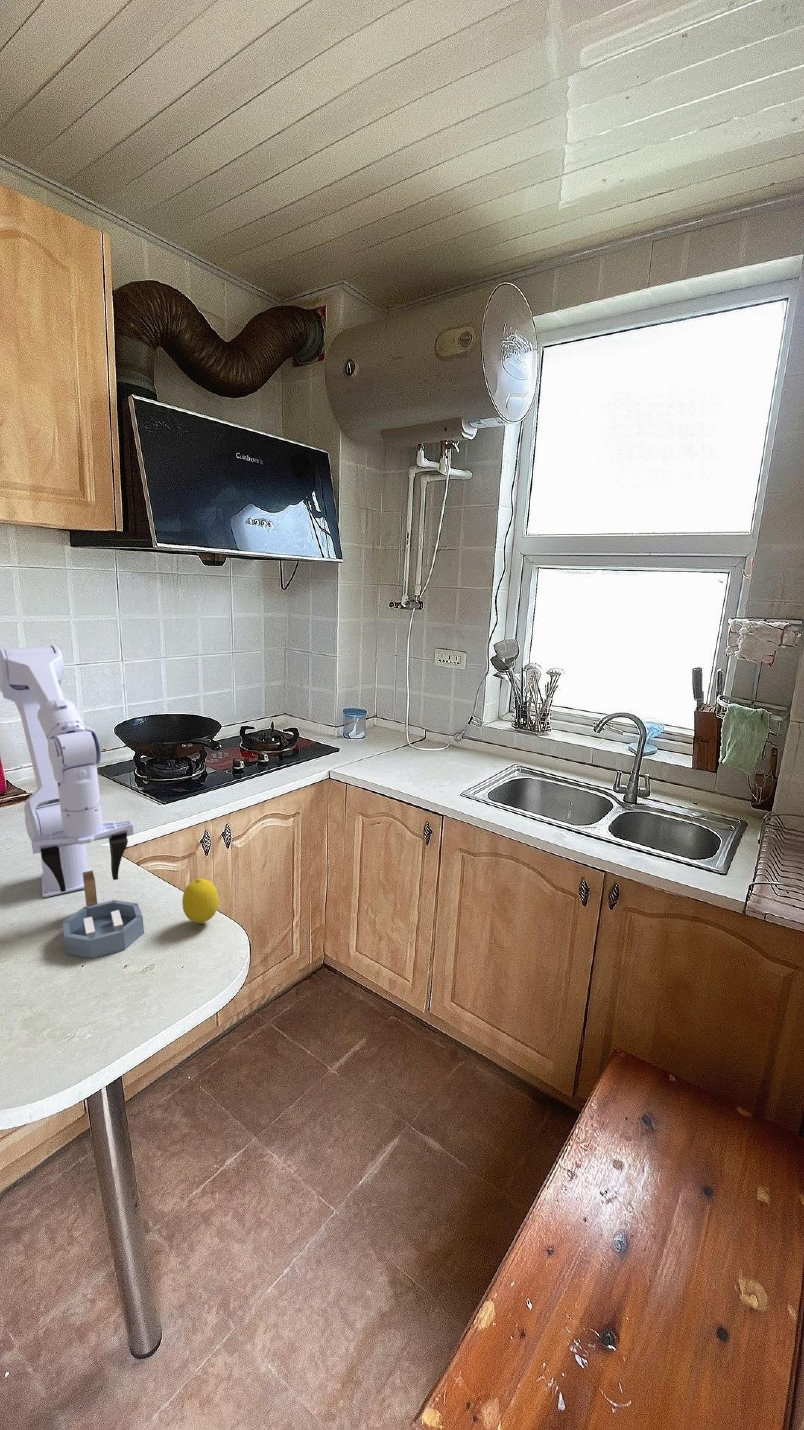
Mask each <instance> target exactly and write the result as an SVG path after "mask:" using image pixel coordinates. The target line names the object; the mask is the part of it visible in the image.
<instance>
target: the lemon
mask: <svg viewBox="0 0 804 1430" xmlns="http://www.w3.org/2000/svg"><path fill="white" fill-rule="evenodd" d="M181 905H182V910H183V913H184V915H185V916H186V917H187V919H188V920H189V921H192V922H193V923H197V924H200V925H203V924H205V922H208V921H209V920H211V919H212V918H213V917H214V916H215V915H216V912H217V910H218V908H219V895H218V890H217V888H216V886H215V885H214V883H213V882H211V881H210V880H208V879H205V878H201V877H198V878H196V879H194V880H193V881H191V882H190V883H188V885H187V886H186V887H185V888H184V891H183V895H182V904H181Z"/></svg>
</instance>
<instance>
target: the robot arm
mask: <svg viewBox="0 0 804 1430" xmlns="http://www.w3.org/2000/svg"><path fill="white" fill-rule="evenodd" d="M64 670H65V665H64V658H63V654H62V651H61V649H60V648H59V647H57V645H55V644H53V645H48V646H34V647H15V648H14V647H13V648H3V647H2V648H1V647H0V692H1V693H2V697H3V699H6V700H8V701H11V702H13V703H15V706H16V707H17V710H18V712H19V715H20V720H21V722H22V726H23V727H22V728H23V731H24V732H23V733H24V735H25V740H26V743H27V748H28V753H29V756H30V761H31V764H32V770H33V772H34V777H35V781H36V786H37V789H36V790H35V791H34V792H33V793H32V794H31V795H29V797H28V798H27V799H26V800H25V803H24V806H23V811H24V812H23V813H24V821H25V828H26V832H27V835H28V837H29V840H30V842H31V848H32V854H33V855H35V854H36V855H37V854H39V853H40V854H39V855H40V862H41V867H42V869H41V870H42V873H41V876H40V877H41V892H42V898H48V897H52V896H57V895H61V894H65V893H69V892H70V893H71V892H75V891H79V890H80V891H81V890H84V881H83V872H87V871H91V868H90V865H89V864H88V854H87V846H86V845H87V844H91V843H93V842H95V841H101V840H106V839H108V842H109V849H110V850H109V851H110V869H111V877H112V881H116V880H118V879H119V870H120V866H121V865H120V864H121V861H122V858H123V855H124V853H125V851H126V848H127V846H128V843H129V841H128V837H129V836H134V835H135V834H134V824H133V822H132V820H123V821H115V822H114V821H113V822H112V821H111V822H103V813H102V806H101V805H102V804H101V794H100V786H99V776H98V767H97V765H100V763H101V760H102V747H101V745H100V740H99V737H98V734H97V732H96V731H95V729H93V728H91V727H90V726H89V725H85V723H84V721H83V719H82V717H81V716H80V713H79V711H78V709H77V707H76V705H75V704H74V703H73V702H72V701H70V699H65V698H64V695H63V692H62V689H61V686H62V681H63V675H64V672H65V671H64ZM127 836H128V837H127Z"/></svg>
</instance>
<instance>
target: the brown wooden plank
mask: <svg viewBox="0 0 804 1430" xmlns="http://www.w3.org/2000/svg"><path fill="white" fill-rule="evenodd" d="M83 881H84V889H83V890H84V897H85V907H87V906H91V905H95V904H98V897H97V895H98V894H97V889H96V888H97V887H96V879H95V875H94V870H90V871H87V872H83Z"/></svg>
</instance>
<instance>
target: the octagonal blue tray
mask: <svg viewBox="0 0 804 1430" xmlns="http://www.w3.org/2000/svg"><path fill="white" fill-rule="evenodd" d="M61 923H62V929H63V930H62V932H63V940H64V948H65V954H66V955H68V956H74V957H81V958H86V959H91V960H93V959H96V958H99V957H103V956H107V955H111V954H115V953H117V952H121V951H125V950H126V949H128V947H130V946H131V945H132V944H133V943H135V942H136V941H137V940H139V938H141V936H143V935H144V934H145V928H144V918H143V915H142V911H141V908H140V906H139V903H137V902H136V903H135V902H131V901H123V900H117V899H116V900H115V899H113V900H109V901H104V902H100V903H97V904H95V905H91V906H87V907H86V906H84V907H82V908H81V909H79V910H78V911H76V912H74V914H72V915H71V916H69V917H68V918H66V919H65V920H63V921H62V922H61Z"/></svg>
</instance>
